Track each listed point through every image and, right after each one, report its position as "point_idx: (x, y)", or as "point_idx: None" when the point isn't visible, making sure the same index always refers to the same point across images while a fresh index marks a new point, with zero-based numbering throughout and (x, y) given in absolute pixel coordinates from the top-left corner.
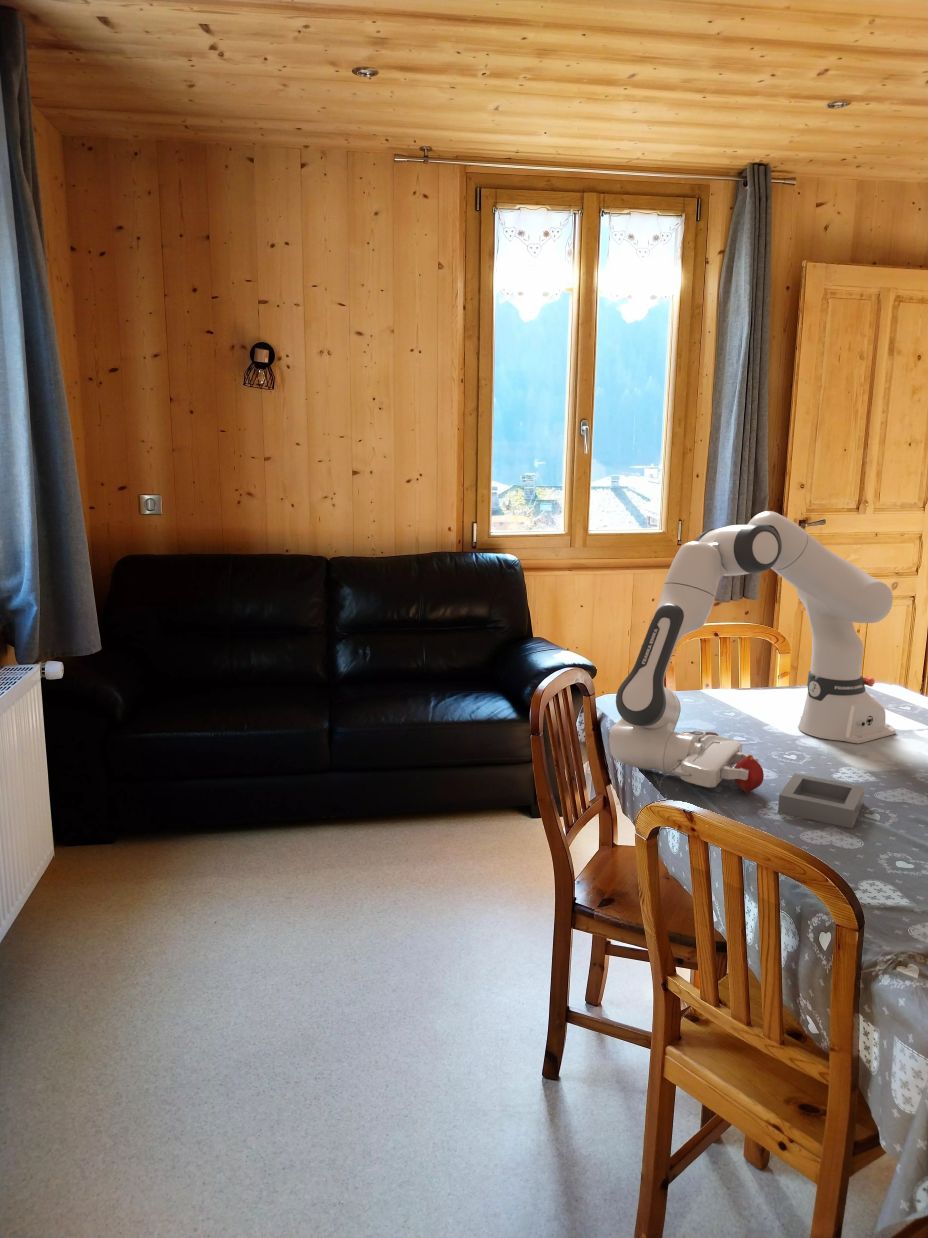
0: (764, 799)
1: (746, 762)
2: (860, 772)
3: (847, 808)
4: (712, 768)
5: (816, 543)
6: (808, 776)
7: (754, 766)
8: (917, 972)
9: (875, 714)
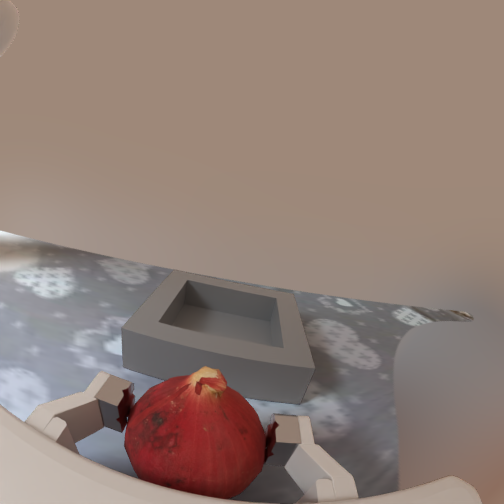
0: None
1: (238, 409)
2: (38, 271)
3: (291, 297)
4: (457, 489)
5: None
6: (140, 311)
7: (235, 391)
8: (462, 311)
9: None
